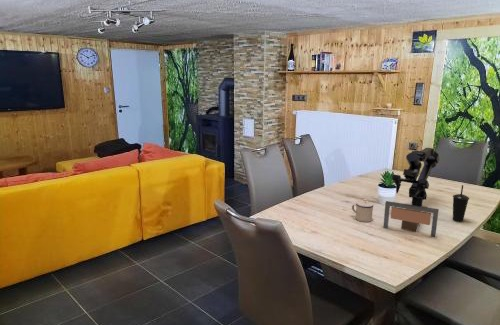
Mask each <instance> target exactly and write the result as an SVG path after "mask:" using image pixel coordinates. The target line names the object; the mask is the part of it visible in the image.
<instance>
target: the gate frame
mask: <svg viewBox="0 0 500 325" xmlns="http://www.w3.org/2000/svg"><path fill="white" fill-rule="evenodd" d="M384 205H385V206H384V216H383V229H388V228H389V222H390V221H389V219H390V212H391V210H390V209H391V207H396V208H403V209H411V210H417V211H421V212H428V213H431V214H433V215H432V223H431V230H430V238H436V236H437V235H436V234H437V233H436V232H437V226H438V225H437V224H438V218H439V208H434V207H428V206H423V205H422V206H423V207H422V206H415V205H412V204H408V203H401V202H394V201H386V200H385V204H384Z"/></svg>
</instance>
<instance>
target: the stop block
mask: <svg viewBox="0 0 500 325" xmlns="http://www.w3.org/2000/svg"><path fill="white" fill-rule="evenodd" d="M409 210H411V209H409ZM415 211H417V210H415ZM419 226H420V223H414V222H409V221H403V220H401V226H400V227H401V230H406V231H410V232H414V233H417V230H418V228H419Z"/></svg>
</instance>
